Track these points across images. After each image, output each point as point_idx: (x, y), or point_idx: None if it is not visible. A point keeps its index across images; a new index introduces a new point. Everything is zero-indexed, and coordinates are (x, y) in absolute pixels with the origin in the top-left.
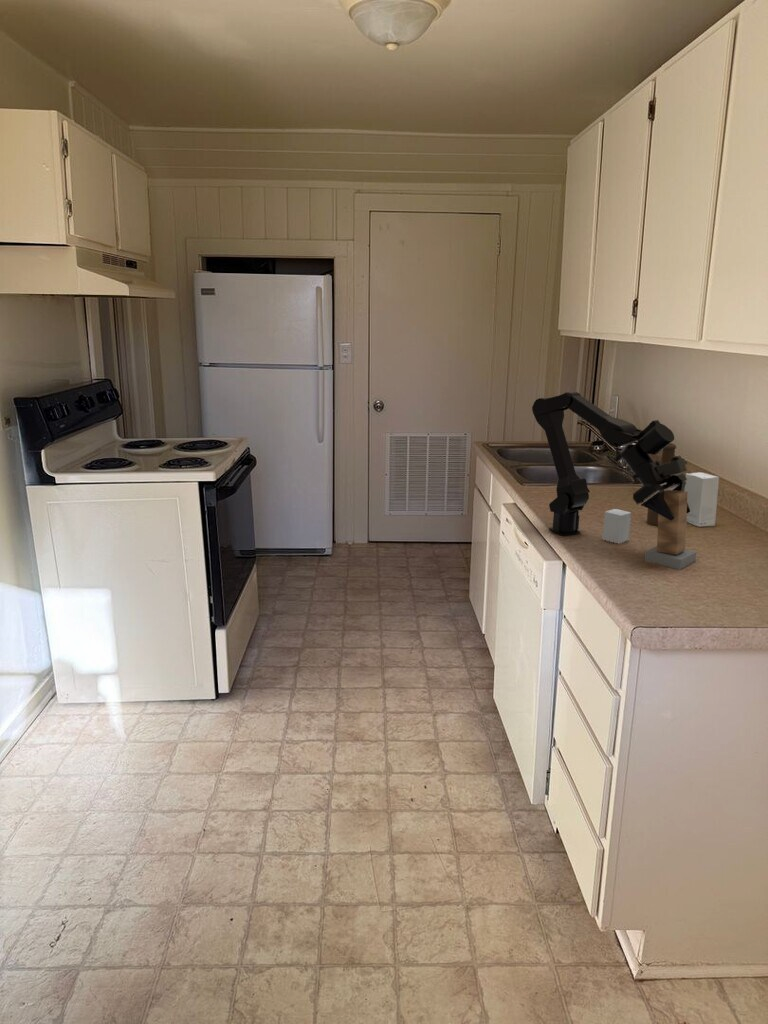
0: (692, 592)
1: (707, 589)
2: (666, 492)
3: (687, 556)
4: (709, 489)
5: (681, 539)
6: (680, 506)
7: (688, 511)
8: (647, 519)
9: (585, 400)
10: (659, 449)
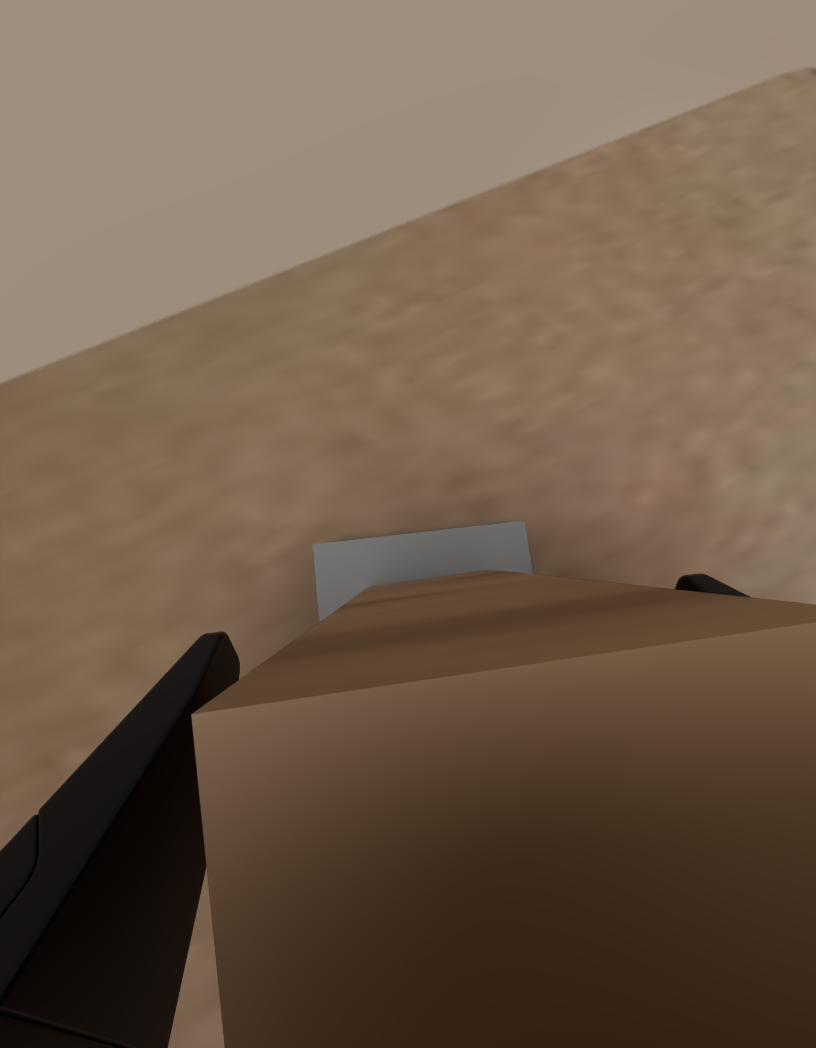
0: (724, 345)
1: (637, 325)
2: None
3: (434, 531)
4: None
5: (433, 582)
6: (588, 595)
7: (226, 646)
8: None
9: None
10: None
